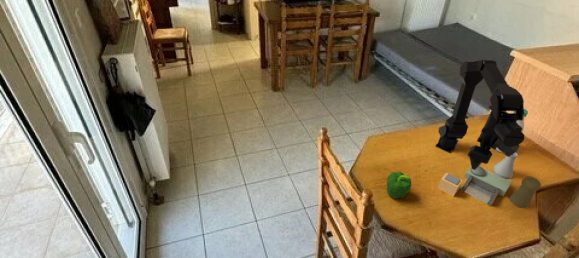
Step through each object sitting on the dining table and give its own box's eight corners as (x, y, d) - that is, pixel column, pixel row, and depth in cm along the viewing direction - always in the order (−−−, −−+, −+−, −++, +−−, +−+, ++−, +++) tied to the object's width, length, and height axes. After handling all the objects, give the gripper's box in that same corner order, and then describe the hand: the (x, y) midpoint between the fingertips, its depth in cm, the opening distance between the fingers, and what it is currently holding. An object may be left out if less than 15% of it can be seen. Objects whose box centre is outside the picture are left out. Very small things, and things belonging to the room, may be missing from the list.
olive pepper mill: (506, 195, 116) (519, 174, 109) (521, 194, 116) (535, 173, 109) (517, 208, 111) (531, 187, 104) (533, 207, 111) (548, 186, 105)
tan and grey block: (437, 188, 119) (441, 177, 115) (442, 181, 121) (446, 171, 118) (453, 196, 115) (458, 186, 112) (458, 190, 118) (463, 179, 115)
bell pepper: (379, 191, 117) (383, 172, 111) (393, 182, 121) (398, 163, 115) (397, 206, 112) (403, 186, 106) (411, 195, 116) (418, 176, 110)
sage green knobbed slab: (464, 177, 123) (467, 170, 121) (470, 168, 127) (473, 161, 125) (503, 196, 115) (506, 189, 113) (508, 186, 119) (512, 179, 117)
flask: (515, 180, 122) (527, 161, 116) (495, 177, 123) (506, 158, 117) (509, 167, 128) (519, 148, 122) (489, 165, 129) (499, 146, 123)
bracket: (460, 190, 118) (462, 185, 116) (468, 179, 122) (470, 174, 121) (490, 206, 112) (493, 201, 110) (497, 193, 116) (500, 189, 115)
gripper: (515, 151, 92) (495, 188, 102) (529, 124, 103) (509, 159, 113) (475, 136, 98) (459, 172, 108) (492, 111, 109) (476, 146, 119)
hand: (477, 162), depth 111 cm, fingers open, 9 cm apart
